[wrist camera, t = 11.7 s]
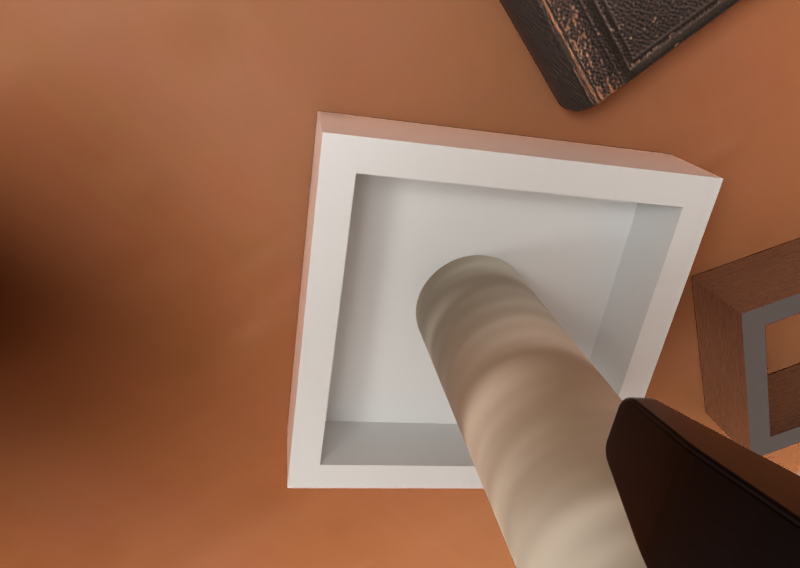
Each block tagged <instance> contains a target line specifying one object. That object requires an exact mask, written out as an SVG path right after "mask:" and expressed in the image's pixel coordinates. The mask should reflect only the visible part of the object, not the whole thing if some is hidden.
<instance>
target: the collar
mask: <svg viewBox="0 0 800 568" xmlns="http://www.w3.org/2000/svg"><path fill="white" fill-rule="evenodd" d="M691 278H692V287H693V297H694V306H695V315H696V325H697V334H698V344H699V353H700V362H701V372H702V381H703V390H704V400H705V409H706V413H707V414H708V415H709V416H710V417H711V418H712V419H713V420H714V421H715V422H716V423H717V424H718V425H719V426H720V428H721V429H722V430H723V431H724V432H725V433H726V434H727V435H728V436H729V437H730V438H731V439H732V440H733V441H734V442H736V443H738V444H740V445H742V446H744V447H746V448H747V449H749V450H751V451H753V452H755V453H757V454H759V455H761V456H763V455H765V454H768V453H771V452H774V451H776V450H779V449H782V448H785V447H788V446H790V445H793V444H796V443H799V442H800V364H798V365H795V366H792V367H789V368H787V369H784V370H781V371H778V372H776V373H773V374H770V375H767V359H766V338H765V325H767V324H770V323H773V322H776V321H778V320H781V319H784V318H787V317H790V316H792V315H795V314H798V313H800V238H799V239H796V240H793V241H790V242H788V243H785V244H782V245H779V246H776V247H774V248H771V249H768V250H765V251H762V252H760V253H757V254H754V255H751V256H748V257H746V258H743V259H740V260H737V261H734V262H732V263H729V264H726V265H723V266H720V267H718V268H715V269H712V270H709V271H706V272H704V273H701V274H698V275H695V276H692V277H691Z"/></svg>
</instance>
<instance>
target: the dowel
mask: <svg viewBox="0 0 800 568" xmlns="http://www.w3.org/2000/svg"><path fill="white" fill-rule="evenodd" d="M416 322H417V325H418V329H419V331H420V333H421V336H422V338H423V341H424V343H425V346H426V348H427V351H428V353H429V356H430V358H431V360H432V363H433V365H434V368H435V370H436V373H437V375H438V378H439V380H440V382H441V385H442V387H443V390H444V392H445V395H446V397H447V400H448V402H449V405H450V407H451V409H452V412H453V414H454V417H455V419H456V422H457V424H458V427H459V429H460V432H461V434H462V436H463V439H464V441H465V444H466V446H467V449H468V451H469V454H470V456H471V458H472V461H473V463H474V466H475V468H476V471H477V473H478V476H479V478H480V481H481V483H482V485H483V488H484V490H485V493H486V495H487V498H488V500H489V503H490V505H491V508H492V510H493V512H494V515H495V517H496V520H497V522H498V525H499V527H500V530H501V532H502V535H503V537H504V539H505V542H506V544H507V547H508V549H509V552H510V554H511V557H512V559H513V561H514V564H515V566H516V568H647V567H646V565H645V562H644V560H643V558H642V556H641V553H640V551H639V548H638V546H637V543H636V540H635V538H634V535H633V532H632V529H631V527H630V524H629V521H628V518H627V515H626V513H625V510H624V507H623V504H622V501H621V499H620V496H619V493H618V490H617V487H616V485H615V482H614V479H613V476H612V473H611V471H610V468H609V465H608V462H607V459H606V451H605V448H606V442H607V439H608V436H609V433H610V430H611V427H612V424H613V421H614V418H615V415H616V413H617V410H618V407H619V405H620V403H621V402H622V399H621V398H620V397H619V396H618V395H617V393H616V392H615V391H614V390H613V388H612V387H611V386H610V385H609V384H608V382H607V381H606V380H605V379H604V378H603V376H602V375H601V374H600V373H599V371H598V370H597V369H596V368H595V367H594V365H593V364H592V363H591V362H590V360H589V359H588V358H587V357H586V356H585V354H584V353H583V352H582V351H581V350H580V348H579V347H578V346H577V345H576V343H575V342H574V341H573V340H572V339H571V337H570V336H569V335H568V334H567V333H566V331H565V330H564V329H563V328H562V326H561V325H560V324H559V323H558V322H557V320H556V319H555V318H554V317H553V315H552V314H551V313H550V312H549V311H548V309H547V308H546V307H545V306H544V305H543V303H542V302H541V301H540V300H539V298H538V297H537V296H536V295H535V294H534V292H533V291H532V290H531V289H530V287H529V286H528V285H527V284H526V283H525V281H524V280H523V279H522V278H521V277H520V275H519V274H518V273H517V272H516V271H515V270H514V269H513V268H512V267H511V266H510V265H509V264H507V263H506V262H504V261H502V260H500V259H497V258H495V257H491V256H484V255H472V256H466V257H462V258H459V259H456V260H453V261H451V262H449V263H447V264H446V265H444V266H442V267H441V268H440V269H438V270H437V271H436V272H435V273H434V274H433V275H432V276H431V277H430V278H429V279H428V280H427V282H426V283H425V285H424V286H423V288H422V290H421V292H420V294H419V297H418V300H417V305H416Z"/></svg>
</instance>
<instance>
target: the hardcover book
mask: <svg viewBox="0 0 800 568" xmlns="http://www.w3.org/2000/svg"><path fill="white" fill-rule="evenodd" d="M738 1H739V0H500V2H501V3H502V5H503V7H504V9H505V10H506V12H507V14H508V15H509V17H510V19H511V21H512V22H513V24H514V26H515V28H516V29H517V31H518V33H519V35H520V36H521V38H522V40H523V42H524V43H525V45H526V47H527V49H528V50H529V52H530V54H531V56H532V57H533V59H534V61H535V63H536V64H537V66H538V68H539V70H540V71H541V73H542V75H543V76H544V78H545V80H546V82H547V83H548V85H549V87H550V89H551V90H552V92H553V94H554V96H555V97H556V99H557V101H558V103H559V104H560V105H561V106H563V107H564V108H565V109H569V110H573V111H581V110H585V109H587V108H590V107H593V106H595V105H597V104H599V103H600V102H602V101H603V100H604V99H606V98H607V97H608V96H610V95H611V94H613V93H614V92H615V91H617V90H618V89H619V88H621V87H622V86H623V85H625V84H626V83H628V82H629V81H630V80H632V79H633V78H634V77H636V76H637V75H638V74H640V73H641V72H643V71H644V70H645V69H647V68H648V67H649V66H651V65H652V64H653V63H655V62H656V61H658V60H659V59H660V58H662V57H663V56H664V55H666V54H667V53H668V52H670V51H671V50H673V49H674V48H675V47H677V46H678V45H679V44H681V43H682V42H684V41H685V40H686V39H688V38H689V37H690V36H692V35H693V34H694V33H696V32H697V31H699V30H700V29H701V28H703V27H704V26H705V25H707V24H708V23H709V22H711V21H712V20H714V19H715V18H716V17H718V16H719V15H720V14H722V13H723V12H724V11H726V10H727V9H729V8H730V7H731V6H733V5H734V4H735V3H737V2H738Z"/></svg>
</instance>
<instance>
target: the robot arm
mask: <svg viewBox="0 0 800 568" xmlns="http://www.w3.org/2000/svg"><path fill="white" fill-rule="evenodd" d="M605 451H606V459H607V462H608V465H609V468H610V471H611V473H612V476H613V479H614V482H615V485H616V487H617V490H618V493H619V496H620V499H621V501H622V504H623V507H624V510H625V513H626V515H627V518H628V521H629V524H630V527H631V529H632V532H633V535H634V538H635V540H636V543H637V546H638V548H639V551H640V553H641V556H642V558H643V560H644V562H645V565H646V567H647V568H800V476H798V475H796V474H795V473H793V472H791V471H789V470H787V469H785V468H783V467H781V466H779V465H778V464H776V463H774V462H772V461H770V460H768V459H766V458H764V457H763V456H761V455H759V454H757V453H755V452H753V451H751V450H749V449H747V448H746V447H744V446H742V445H740V444H738V443H736V442H734V441H732V440H730V439H729V438H727V437H725V436H723V435H721V434H719V433H717V432H715V431H714V430H712V429H710V428H708V427H706V426H704V425H702V424H700V423H698V422H697V421H695V420H693V419H691V418H689V417H687V416H685V415H683V414H681V413H680V412H678V411H676V410H674V409H672V408H670V407H668V406H666V405H664V404H663V403H661V402H659V401H657V400H655V399H652V398H639V397H628V398H625V399H624V400H622V402H621V403H620V405H619V407H618V410H617V413H616V415H615V418H614V421H613V424H612V427H611V430H610V433H609V436H608V439H607V442H606V448H605Z"/></svg>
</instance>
